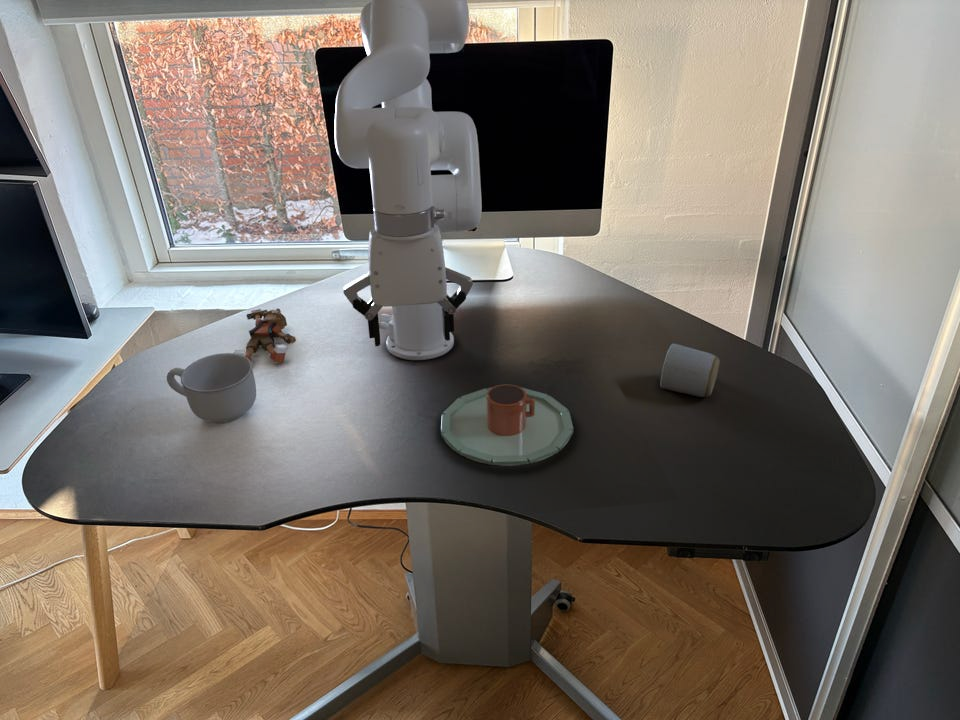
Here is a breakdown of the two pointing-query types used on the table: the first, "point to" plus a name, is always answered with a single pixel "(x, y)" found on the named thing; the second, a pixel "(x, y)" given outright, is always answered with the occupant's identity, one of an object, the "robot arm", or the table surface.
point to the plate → (533, 444)
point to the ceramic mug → (689, 371)
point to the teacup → (217, 386)
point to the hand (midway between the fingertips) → (412, 339)
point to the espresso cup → (508, 409)
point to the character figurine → (267, 335)
